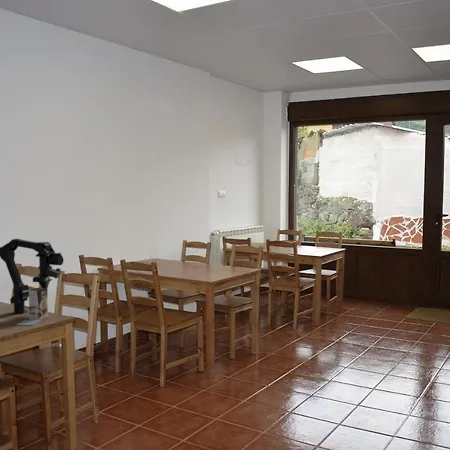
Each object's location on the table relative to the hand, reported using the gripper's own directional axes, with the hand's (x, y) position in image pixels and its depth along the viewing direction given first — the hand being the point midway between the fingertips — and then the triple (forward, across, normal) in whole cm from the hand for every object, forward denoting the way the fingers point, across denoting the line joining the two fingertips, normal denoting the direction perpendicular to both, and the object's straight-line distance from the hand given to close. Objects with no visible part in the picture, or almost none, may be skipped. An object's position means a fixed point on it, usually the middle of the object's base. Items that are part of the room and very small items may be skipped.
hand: (45, 292), depth 303 cm
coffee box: (+13, -9, 0) cm, 16 cm away
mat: (+12, -20, 0) cm, 24 cm away
